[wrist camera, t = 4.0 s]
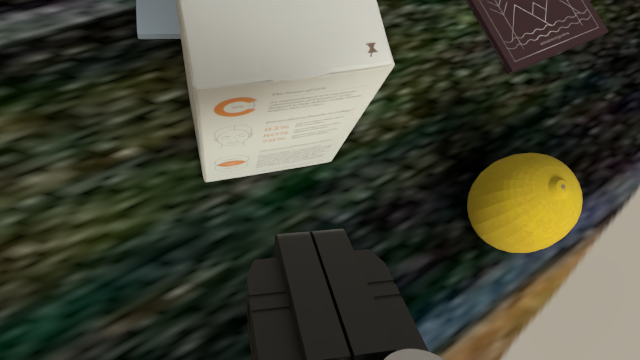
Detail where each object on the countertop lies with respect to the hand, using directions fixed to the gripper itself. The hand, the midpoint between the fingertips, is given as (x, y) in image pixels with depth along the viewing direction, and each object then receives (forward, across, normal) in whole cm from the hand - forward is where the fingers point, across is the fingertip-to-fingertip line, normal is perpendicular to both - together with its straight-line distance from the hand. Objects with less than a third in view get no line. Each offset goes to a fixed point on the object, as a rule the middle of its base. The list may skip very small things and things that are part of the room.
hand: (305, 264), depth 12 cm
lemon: (+17, -15, +11) cm, 25 cm away
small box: (+22, -1, +6) cm, 23 cm away
